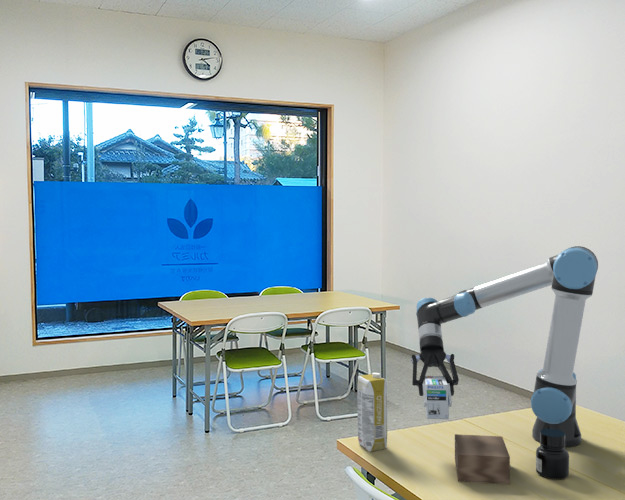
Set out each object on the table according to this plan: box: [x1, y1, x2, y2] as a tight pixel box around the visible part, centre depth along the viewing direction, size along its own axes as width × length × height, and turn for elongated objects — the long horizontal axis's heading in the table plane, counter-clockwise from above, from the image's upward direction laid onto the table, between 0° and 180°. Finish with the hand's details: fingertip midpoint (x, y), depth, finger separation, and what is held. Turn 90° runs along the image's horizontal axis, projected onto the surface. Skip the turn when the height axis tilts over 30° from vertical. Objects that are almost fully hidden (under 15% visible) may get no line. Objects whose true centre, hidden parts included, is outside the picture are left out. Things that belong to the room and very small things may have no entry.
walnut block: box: [454, 433, 511, 485], centre depth 180 cm, size 14×16×8 cm
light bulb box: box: [423, 375, 450, 420], centre depth 190 cm, size 11×7×11 cm, turn 173°
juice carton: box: [356, 372, 388, 452], centre depth 199 cm, size 9×8×24 cm
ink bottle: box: [535, 429, 570, 480], centre depth 177 cm, size 10×9×12 cm
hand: (437, 404), depth 187 cm, fingers closed on light bulb box, 7 cm apart
